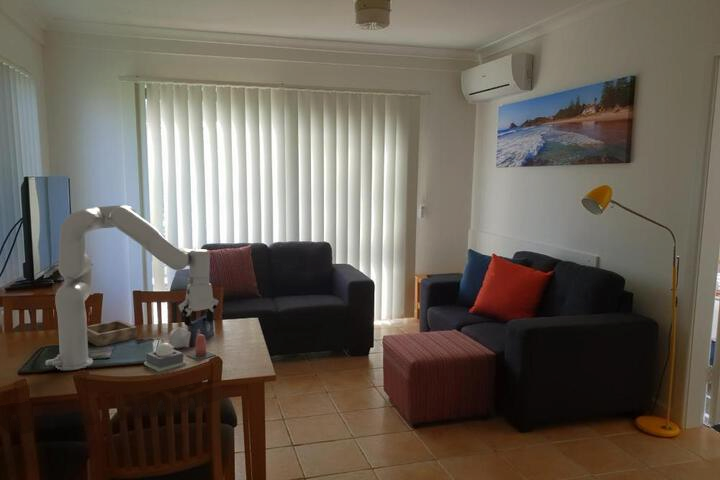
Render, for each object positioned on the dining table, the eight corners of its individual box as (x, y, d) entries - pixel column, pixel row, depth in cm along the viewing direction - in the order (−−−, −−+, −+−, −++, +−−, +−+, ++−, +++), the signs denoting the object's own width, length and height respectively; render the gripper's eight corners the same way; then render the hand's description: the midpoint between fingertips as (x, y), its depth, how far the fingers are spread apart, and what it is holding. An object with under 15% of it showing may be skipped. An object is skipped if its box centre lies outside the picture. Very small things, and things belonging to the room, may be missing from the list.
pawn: (199, 357, 216) (198, 336, 216) (193, 355, 219) (193, 334, 218) (208, 354, 219) (207, 334, 219) (202, 352, 222) (202, 332, 221)
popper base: (159, 371, 201) (158, 360, 201) (144, 364, 208) (143, 353, 208) (186, 364, 209) (185, 353, 209) (170, 357, 217) (170, 347, 216)
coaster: (198, 360, 214) (198, 359, 214) (186, 356, 219) (186, 355, 219) (215, 355, 220) (215, 354, 220) (204, 351, 225) (204, 350, 225)
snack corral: (98, 346, 230) (97, 334, 229) (81, 338, 241) (80, 327, 240) (137, 338, 242) (137, 327, 242) (119, 330, 254) (119, 320, 253)
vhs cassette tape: (209, 334, 250) (208, 312, 249) (215, 334, 249) (214, 313, 248) (187, 346, 232) (186, 323, 231) (193, 346, 231) (193, 323, 230)
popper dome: (161, 361, 204) (161, 346, 204) (153, 357, 208) (153, 343, 208) (176, 357, 209) (176, 342, 208) (168, 353, 213) (167, 339, 212)
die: (187, 355, 228) (196, 336, 235) (182, 341, 222) (191, 322, 229) (168, 353, 229) (177, 334, 236) (162, 339, 223) (172, 320, 230)
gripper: (184, 284, 207) (184, 329, 209) (223, 280, 220) (222, 322, 222) (174, 281, 212) (173, 325, 214) (212, 277, 225) (211, 318, 227)
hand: (198, 323), depth 218 cm, fingers open, 9 cm apart
